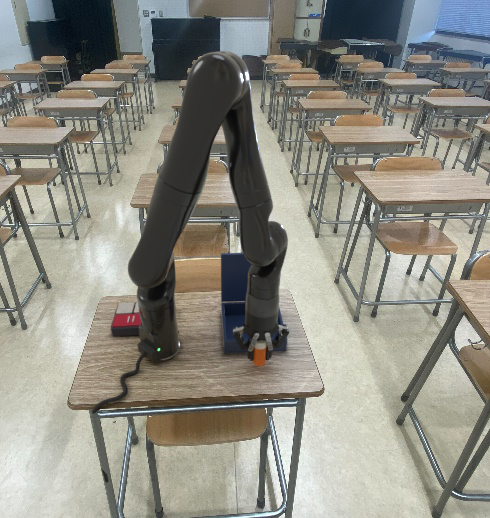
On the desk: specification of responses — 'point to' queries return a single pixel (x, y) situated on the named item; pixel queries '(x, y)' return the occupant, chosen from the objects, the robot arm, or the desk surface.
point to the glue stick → (260, 353)
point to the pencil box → (236, 317)
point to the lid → (234, 277)
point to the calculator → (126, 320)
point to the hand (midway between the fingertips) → (259, 357)
